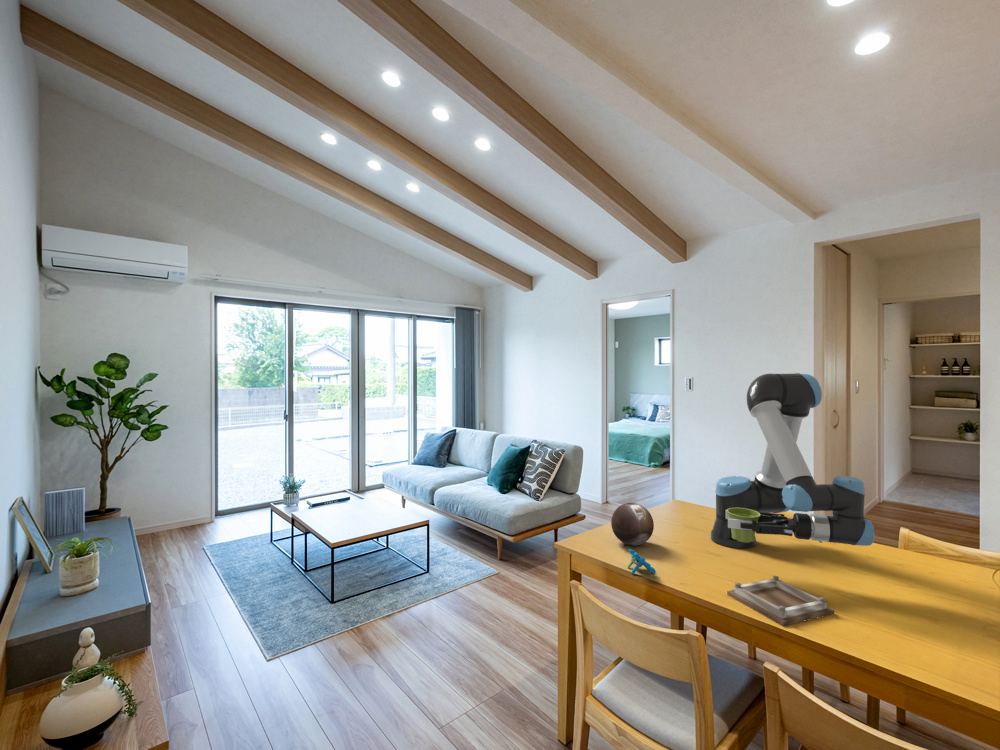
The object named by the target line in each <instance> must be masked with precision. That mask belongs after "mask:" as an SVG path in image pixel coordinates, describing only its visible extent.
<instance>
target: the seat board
mask: <svg viewBox="0 0 1000 750" xmlns="http://www.w3.org/2000/svg"><path fill="white" fill-rule="evenodd" d="M726 592H727V593H726V594H727V596H729V597H731V598H732V599H734V600H735V601H738V602H740V603H741V604H743V605H745V606H746V607H748V608H750V609H752V610H753V611H756V612H757V613H759V614H761V615H763V616H765V617H766V618H767V619H769V620H771V621H773V622H774V623H777V624H778V625H780V626H782V627H785V626H790V625H794V624H798V623H797V622H799V623H802V622H801V621H803V622H805V621H804V620H807V621H809V620H808V619H811V620H813V619H812V618H816V619H818V618H817V617H820V618H823V617H822V616H824V617H827V616H826V615H828V616H832V615H831V614H833V615H835V614H834V613H836V612H835V609H833V608H830V607H828V606H827V599H826V597H823V596H820V597H817V596H814V595H813V594H810V593H808V592H806V591H805V590H802V589H799V588H798V587H796V586H793V585H791V584H789V583H787V582H785V581H783V580H780V578H779V576H777V575H772V578H770V579H766V580H760V581H754V582H749V583H744V584H741V583H739V582H735V583H734V589H732V590H727V591H726ZM793 623H794V624H793Z"/></svg>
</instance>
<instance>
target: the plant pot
mask: <svg viewBox="0 0 1000 750" xmlns="http://www.w3.org/2000/svg"><path fill="white" fill-rule="evenodd" d="M727 512H728V514H729V517H730V519H739V520H749V521H752V520H755V521H756V522H757V521H758V518H759V517H760V513H759V512H757V511H754V510H750V509H745V508H729V509H727ZM731 532H732V538H733V539H736V540H738V541H740V542H746V543H748V542H753V541H754V536H755V537H756V535H755V534H756V532H755V531H752V530H744V529H735V528H731Z"/></svg>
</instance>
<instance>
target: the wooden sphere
mask: <svg viewBox="0 0 1000 750" xmlns="http://www.w3.org/2000/svg"><path fill="white" fill-rule="evenodd" d="M610 523H611V526H610V527H611V529H612V532H613V534H614V535H615V537H616V538H617V539H618V540H619V541H620V542H622V544H625V545H628V546H633V547H635V546H640V545H644V544H645V543H647V541H649V540H650V538H651V537H652V535H653V532H654V529H655V527H654V526H655V525H654V519H653V516H652V514H651V513H650V511H649V510H648V509H647V508H646V507H645V506H643V505H641V504H639V503H636V502H626V503H623V504H621V505H619V506H617V508H616V509H615V510H614V511H613V513H612V515H611V521H610Z"/></svg>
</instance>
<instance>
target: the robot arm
mask: <svg viewBox="0 0 1000 750" xmlns="http://www.w3.org/2000/svg"><path fill="white" fill-rule="evenodd" d="M822 397H823V392H822V387H821V385H820V383H819V381H818V379H817V378H815V377H814V376H813V375H811V374H808V373H800V372H797V373H765V374H762V375H759V376H757V377H755V379H754V380H753V381H751V383H750V385H749V386H748V389H747V392H746V405H747V408H748V411H749V414H750V415H751V417H753V418H755V419H756V421H757V422H758V423H757V424H758V425H759V428H760V430H761V432H762V435H763V436H764V438H765V441H766V443H767V444H766V449H765V451H764V452H765V453H764V457H763V462H762V465H761V466H762V467H761V470H760V471H757V472H756V473H755V476H754V480H751V479H750V478H749V477H745V476H736V475H733V476H726V477H721V478H720V479H718V481H717V482H716V486H715V520H714V523H713V527H712V529H711V530H710V539H711V541H712V542H714V543H715V544H718V545H721V546H724V547H729V548H736V549H750V548H754V547H756V545H757V537H756V535H755V536H754V541H753V542H748V543H746V542H740V541H738V540H736V539H733V538H732V532H731V528H735V529H744V530H752V531H755V534H758V535H759V534H760V535H778V536H788V537H793V536H794V538H795V539H798V540H806V541H807V540H808V541H809V540H810V539H811V541H817V542H819V543H821V544H822V543H823V542H825V543H826V542H827V543H831V542H833V543H835V544H844V545H850V546H865V547H867V546H868V547H869V546H871V545H873V544H874V542H875V538H876V537H875V535H876V534H875V527H874V524H873V523H872V521H871V520H869V519H867V518H866V519H865V513H864V512H865V496H866V493H865V492H866V491H865V483H864V481H863V479H861V478H857V477H855V476H854V477H853V476H849V475H848V476H846V475H838V476H837V475H836V476H834V477H833V479H832V484H830V483H828V484H826V483H825V484H822V483H821V484H819V483H818V484H817V483H816V481H815V479H814V477H813V475H812V473H811V471H810V469H809V467H808V464H807V463H806V461H805V459H804V456H803V455H802V452H801V450H800V448H799V446H798V443H797V441H798V437H799V433H800V431H801V430H800V429H801V425H802V422H803V419H805V418H808V417H809V414H810V412H811V411H810V410H811V409H814V408H816V407H817V406H819V405H820V404H821V401H822ZM729 508H745V509H750V510H754V511H757V512H759V513H760V517H759V518H758V521H757V522H756V521H755V520H752V521H749V520H739V519H730V517H729V514H728V512H727V509H729ZM788 511H793V512H795V513H794V514H792V515H793V516H792V517H793V518H790V517H787V516H785V514H783V513H786V512H788ZM820 511H821V512H822V511H823V512H824V511H825V512H826V511H827V512H832V515H824V514H814V513H813V514H811V513H810V515H809V514H808V513H807V512H820ZM799 512H801V513H799ZM803 512H804V513H803Z"/></svg>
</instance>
